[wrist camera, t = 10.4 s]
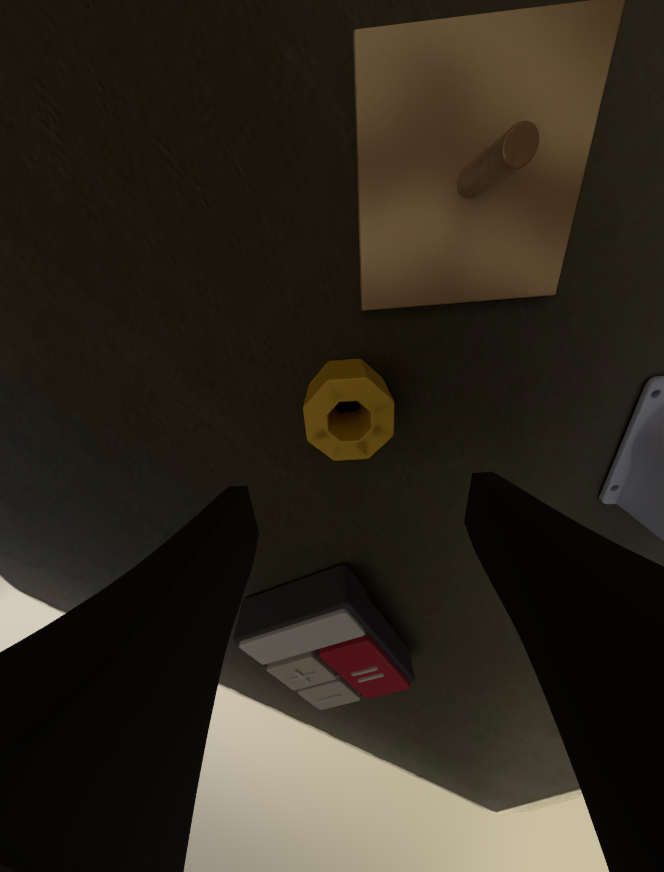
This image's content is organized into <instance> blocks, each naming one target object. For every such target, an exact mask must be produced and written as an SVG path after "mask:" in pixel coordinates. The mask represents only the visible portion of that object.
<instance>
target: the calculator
mask: <svg viewBox="0 0 664 872" xmlns="http://www.w3.org/2000/svg"><path fill="white" fill-rule="evenodd" d="M233 641H234V643H235V644H237V645H238V646H239V648H241V649H242V650H243V651H245V652H246V653H247V654H249V655H250V656H251V657H253V658H254V659H255V660H257V661H258V662H259V663H261V664H263V665H265V666H266V667H267V671H268V672H269V673H270V674H272V675H273V676H275V677H276V678H277V679H279V680H280V681H281V682H283V683H284V684H285V685H287V686H288V687H289V688H291V689H292V690H298V691H297V693H298V694H299V695H300V696H302V697H303V698H304V699H306V700H307V701H308V702H310V703H311V704H312V705H314V706H315V707H317V708H318V709H320V710H322V709H327V708H331V707H335V706H340V705H344V704H348V703H352V702H356V701H359V700H360V696H361V695H363V696H364V697H365V698H373V697H377V696H381V695H385V694H390V693H394V692H398V691H402V690H406V689H409V688H410V683H413V682H414V681H415V677H414V673H413V668H412V663H411V658H410V653H409V649H408V647H407V646H406V645H405V644H404V642H403V641H402V640H401V638H400V637H399V636H398V635H397V633H396V632H395V631H394V630H393V628H392V627H391V626H390V625H389V623H388V622H387V621H386V619H385V618H384V617H383V616H382V614H381V613H380V612H379V611H378V609H377V608H376V607H375V606H374V604H373V603H372V602H371V600H370V599H369V597H368V595H367V593H366V590H365V588H364V586H363V585H362V584H361V582H360V581H359V580H358V579H357V577H356V576H355V575H354V573H353V572H352V571H351V570H350V568H349V567H348V566H347V565H340V566H337V567H334V568H331V569H328V570H326V571H323V572H320V573H317V574H314V575H311V576H309V577H306V578H303V579H300V580H297V581H295V582H292V583H289V584H286V585H283V586H281V587H278V588H275V589H272V590H269V591H266V592H264V593H261V594H258V595H255V596H252V597H250V598H247V599H245V600H243V602H242V606H241V610H240V614H239V618H238V622H237V626H236V630H235V634H234V638H233Z"/></svg>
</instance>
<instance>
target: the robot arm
mask: <svg viewBox="0 0 664 872" xmlns="http://www.w3.org/2000/svg"><path fill="white" fill-rule="evenodd" d="M652 392H654V393H653V394H652ZM651 394H652V395H651ZM599 499H600V501H602V502H603V503H604V504H617V505H619V506H620V507H621V508H622V509H624V510H625V511H626V512H627V513H629V514H630V515H631V516H632V517H634V518H635V519H636V520H637V521H639V522H640V523H641V524H642V525H644V526H645V527H646V528H647V529H649V530H650V531H651V532H652V533H654V534H655V535H656V536H657V537H659V538H660V539H661V540H663V541H664V376H656V377H653V378H651V379H649V380H648V381H647V383H646V384H645V387H644V389H643V391H642V394H641V396H640V399H639V401H638V404H637V406H636V408H635V411H634V413H633V416H632V418H631V421H630V423H629V425H628V428H627V430H626V433H625V435H624V438H623V440H622V442H621V445H620V447H619V450H618V452H617V455H616V457H615V459H614V462H613V464H612V467H611V469H610V472H609V474H608V476H607V479H606V481H605V484H604V486H603V489H602V491H601V493H600V496H599ZM464 523H465V526H466V529H467V531H468V534H469V537H470V540H471V542H472V545H473V547H474V550H475V552H476V554H477V556H478V558H479V560H480V562H481V564H482V566H483V568H484V570H485V571H486V573H487V575H488V577H489V579H490V581H491V583H492V585H493V587H494V588H495V590H496V592H497V594H498V596H499V598H500V600H501V601H502V603H503V605H504V607H505V609H506V611H507V613H508V615H509V616H510V618H511V620H512V622H513V624H514V626H515V628H516V630H517V632H518V634H519V636H520V638H521V640H522V642H523V645H524V647H525V649H526V652H527V654H528V656H529V659H530V661H531V663H532V666H533V668H534V670H535V673H536V675H537V678H538V680H539V682H540V685H541V687H542V690H543V692H544V695H545V697H546V700H547V702H548V705H549V707H550V710H551V712H552V715H553V717H554V720H555V722H556V725H557V727H558V730H559V732H560V735H561V738H562V740H563V743H564V746H565V748H566V751H567V754H568V756H569V759H570V762H571V764H572V767H573V770H574V772H575V775H576V778H577V780H578V783H579V786H580V788H581V791H582V794H583V797H584V800H585V803H586V805H587V808H588V811H589V814H590V817H591V820H592V822H593V825H594V828H595V831H596V834H597V837H598V839H599V843H600V845H601V848H602V851H603V854H604V857H605V860H606V863H607V866H608V869H609V872H664V567H663V566H661V565H659V564H657V563H655V562H653V561H651V560H649V559H647V558H645V557H643V556H641V555H638V554H636V553H634V552H632V551H630V550H628V549H626V548H624V547H622V546H620V545H618V544H616V543H614V542H612V541H610V540H608V539H607V538H605V537H603V536H601V535H599V534H597V533H596V532H594V531H592V530H590V529H588V528H586V527H585V526H583V525H581V524H579V523H577V522H576V521H574V520H572V519H570V518H569V517H567V516H565V515H563V514H562V513H560V512H558V511H557V510H555V509H553V508H552V507H550V506H548V505H547V504H545V503H543V502H542V501H540V500H538V499H537V498H535V497H534V496H532V495H530V494H529V493H527V492H525V491H524V490H522V489H521V488H519V487H517V486H516V485H514V484H512V483H511V482H509V481H507V480H506V479H504V478H502V477H501V476H499V475H497V474H495V473H493V472H483V473H472V479H471V485H470V491H469V497H468V503H467V509H466V515H465V521H464ZM258 535H259V531H258V527H257V523H256V519H255V515H254V511H253V507H252V503H251V499H250V495H249V492H248V488H247V486H234V487H228V488H227V489H225V490H224V491H223V492H222V493H221V494H220V495H219V496H217V497H216V498H215V499H214V500H213V501H212V502H211V503H210V504H209V505H207V506H206V507H205V508H204V509H203V510H202V511H201V512H200V513H199V514H198V515H196V516H195V517H194V518H193V519H192V520H191V521H190V522H189V523H187V524H186V525H185V526H184V527H183V528H182V529H181V530H180V531H178V532H177V533H176V534H175V535H174V536H172V537H171V538H170V539H169V540H167V541H166V542H165V543H164V544H163V545H161V546H160V547H159V548H158V549H157V550H155V551H154V552H153V553H152V554H150V555H149V556H148V557H147V558H145V559H144V560H143V561H142V562H140V563H139V564H138V565H136V566H135V567H134V568H132V569H131V570H130V571H128V572H127V573H125V574H124V575H123V576H121V577H120V578H118V579H117V580H116V581H114V582H113V583H111V584H110V585H109V586H107V587H106V588H104V589H103V590H101V591H100V592H98V593H97V594H95V595H94V596H92V597H91V598H89V599H87V600H86V601H84V602H83V603H81V604H80V605H78V606H77V607H75V608H73V609H72V610H70V611H69V612H67V613H66V614H64V615H63V616H61V617H59V618H58V619H56V620H55V621H53V622H52V623H50V624H48V625H47V626H45V627H43V628H42V629H40V630H38V631H36V632H35V633H33V634H32V635H30V636H28V637H26V638H25V639H23V640H21V641H20V642H18V643H16V644H14V645H13V646H11V647H9V648H7V649H5V650H4V651H2V652H0V872H184V865H185V859H186V852H187V846H188V840H189V834H190V828H191V823H192V816H193V811H194V805H195V799H196V793H197V787H198V782H199V776H200V771H201V766H202V761H203V755H204V749H205V745H206V739H207V734H208V729H209V724H210V720H211V714H212V709H213V705H214V700H215V695H216V691H217V686H218V682H219V678H220V673H221V669H222V664H223V660H224V656H225V651H226V648H227V644H228V641H229V637H230V634H231V630H232V627H233V624H234V621H235V618H236V615H237V612H238V609H239V606H240V603H241V600H242V597H243V593H244V590H245V587H246V584H247V581H248V578H249V575H250V571H251V568H252V565H253V561H254V556H255V551H256V546H257V540H258Z"/></svg>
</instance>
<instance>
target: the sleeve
mask: <svg viewBox="0 0 664 872" xmlns="http://www.w3.org/2000/svg"><path fill="white" fill-rule="evenodd" d="M347 401H358V402H359V403H360V404H361V406H360V407H359V408H358V409H357V410H356V411H355V412H343V413H340V412H339V411H338V410H337V409H336V408H334V407H335V406H336V405H337V404H338V403H339V402H347ZM303 412H304V420H305V428H306V435H307V440H308V442H310V443H311V444H312V445H314V446H315V447H317V448H318V449H319V450H321V451H322V452H323V453H325V454H326V455H327V456H329V457H330V458H331V459H333V460H335V461H338V460H354V459H368V458H370V457H371V456H372V455H373V454H374V453H375V452H376V451H377V450H378V449H379V448H381V447H382V446H383V445H384V444H385V443H386V442H387V441H388V440H389V439H390V438H391V437H392V436H393V434H394V401H393V399H392V396H391V394H390V392H389V390H388V388H387V386H386V384H385V382H384V380H383V378H382V377H381V376H380V375H379V374H378V373H376V372H375V371H374V370H373V369H372V368H371V367H370V366H369V365H368V364H366V363H365V362H364V361H363V360H362V359H347V360H334V361H328V362H327V363H326V365H325V366H324V367H323V368H322V369H321V370H320V372H319V373H318V374H317V375H316V376H315V378H314V379H313V380H312V381H311V382H310V383H309V387H308V391H307V395H306V399H305V403H304V407H303Z"/></svg>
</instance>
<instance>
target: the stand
mask: <svg viewBox="0 0 664 872" xmlns="http://www.w3.org/2000/svg"><path fill="white" fill-rule="evenodd" d="M624 3H625V0H590V1H582V2H574V3H566V4H557V5H549V6H541V7H533V8H525V9H517V10H509V11H501V12H493V13H485V14H477V15H469V16H461V17H452V18H444V19H436V20H428V21H420V22H412V23H404V24H396V25H388V26H380V27H372V28H364V29H356V30H354V39H353V59H354V92H355V125H356V158H357V191H358V224H359V257H360V290H361V309H362V310H363V311H365V310H378V309H390V308H402V307H414V306H427V305H439V304H451V303H464V302H476V301H488V300H500V299H513V298H525V297H537V296H549V295H555V294H556V290H557V285H558V281H559V277H560V273H561V268H562V264H563V260H564V256H565V252H566V247H567V243H568V239H569V235H570V230H571V226H572V222H573V218H574V214H575V209H576V205H577V201H578V197H579V192H580V188H581V184H582V180H583V176H584V171H585V167H586V163H587V159H588V154H589V150H590V146H591V142H592V138H593V133H594V129H595V125H596V121H597V117H598V112H599V108H600V104H601V100H602V95H603V91H604V87H605V83H606V79H607V74H608V70H609V66H610V62H611V57H612V53H613V49H614V45H615V41H616V36H617V32H618V28H619V24H620V19H621V15H622V11H623V7H624Z"/></svg>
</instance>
